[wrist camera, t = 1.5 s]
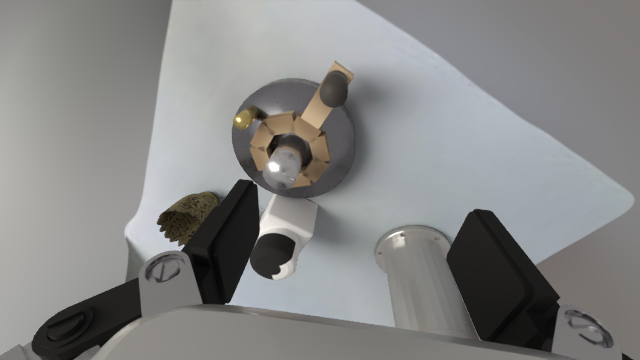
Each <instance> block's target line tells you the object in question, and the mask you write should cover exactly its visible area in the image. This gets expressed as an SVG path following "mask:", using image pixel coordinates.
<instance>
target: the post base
mask: <svg viewBox="0 0 640 360" xmlns="http://www.w3.org/2000/svg"><path fill="white" fill-rule="evenodd" d="M319 86H320V85H319V84H317V83H315V82H312V81H308V80H305V79H297V78H287V79H281V80H277V81H274V82H271V83H269V84H267V85H265V86H263V87H262V88H260V89H259V90H257V91H256V92H255V93H253V94H252V95H250V96H249V97H248V98H247V99H246V100H245V101H244V102H243V104H242V105H241V106H240V108H239V110H238V112H237V113H236V116H235V117H234V119H233V127H232V143H233V148H234V151H235V154H236V157H237V159H238V161H239V163H240V165H241V166H242V168H243V169H244V171H245V172H246V173H247V174H248V176H249V177H250V178H251V179H252V180H253V181H255V182H256V183H257V184H258V185H260V186H261V187H263V188H264V189H266V190H268V191H270V192H272V193H275V194H277V195H280V196H284V197H289V198H310V197H315V196H318V195H321V194H324V193H326V192H328V191H330V190H331V189H333V188H334V187H335V186H337V185H338V184H339V183H340V182H341V181H342V180H343V179H344V177H345V176H346V175H347V173H348V171H349V169H350V167H351V165H352V162H353V158H354V153H355V138H354V128H353V124H352V120H351V118H350V115H349V113H348V111H347V109H346V108H345V106H344V105H343V104H342V105H341V106H339V107H336V108H333V109H332V110H331V112H330V113H329V115H328V116H327V118H326V119H325V121H324V122H323V123H322V125H321V126H322V131H321V132H324V131H326V135H327V139H328V144H329V149H330V154H331V157H330V161H329V166H328V167H327V168H326V170H325V171H324V172H323V173H322V175H321V176H320V177H319V179H318V180H317V181H316V182H313V181H312V183H311V185H308V186H300V187H293V188H291V187H292V186H293V185H294V184H295V182H296V180H297V177H298V174H299V171H300V168H301V167H306V166H307V164H308V163H309V161H310V160H311V159H312V157H313V156H312V152H311V148H310V145H309V142H307V141H306V140H304V139H303V138H301V137H299V136H298V135H296V134H295V133H293V132H290V133H284V134H278V135H275V136H274V137H273V139H272V141H271V143H270V144H269V145H270V148H271V151H272V155H271V157H270V159H269V160H268V162H267V164H266V165H265V167H264V169H263V170H262V171H258V169H257V167H256V164H255V161H254V159H253V156H252V154H251V151H250V148H251V146H252V145H251V144H250V142H251V140H252V138H253V137H254V135H255V133H256V131H257V129H258V127H259V125H260V123H261V122H262V121H263V120H264V119H266V118H267V117H268V116H269V115H274V114H279V113H284V112H289V111H294V112H295V115H296V117H297V116H298V114H299V112H301V113H303V112H304V111H305V109H306V108H307V106H308V104H309V103H310V101H311V99H312V98H313V96H314V95H315V93H316V91H317V90H318V88H319ZM262 174H263V175H262Z"/></svg>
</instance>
